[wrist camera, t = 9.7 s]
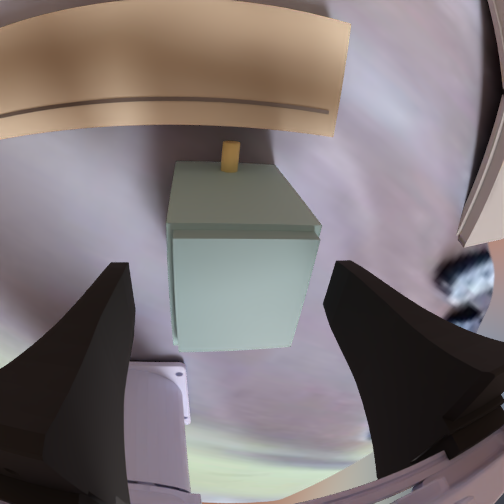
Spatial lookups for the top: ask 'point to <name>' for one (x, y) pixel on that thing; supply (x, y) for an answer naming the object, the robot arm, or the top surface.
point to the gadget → (488, 168)
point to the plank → (172, 67)
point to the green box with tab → (236, 255)
